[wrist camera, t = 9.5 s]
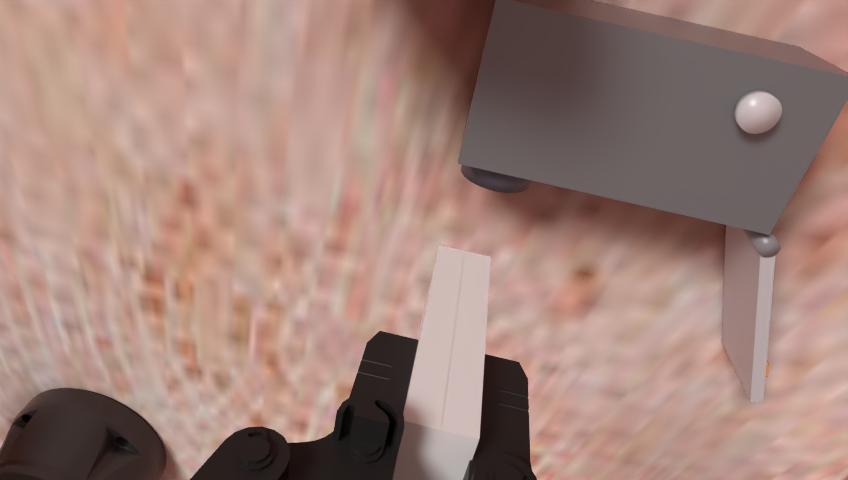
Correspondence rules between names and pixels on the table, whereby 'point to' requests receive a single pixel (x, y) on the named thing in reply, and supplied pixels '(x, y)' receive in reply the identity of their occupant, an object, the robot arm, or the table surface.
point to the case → (646, 111)
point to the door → (748, 305)
